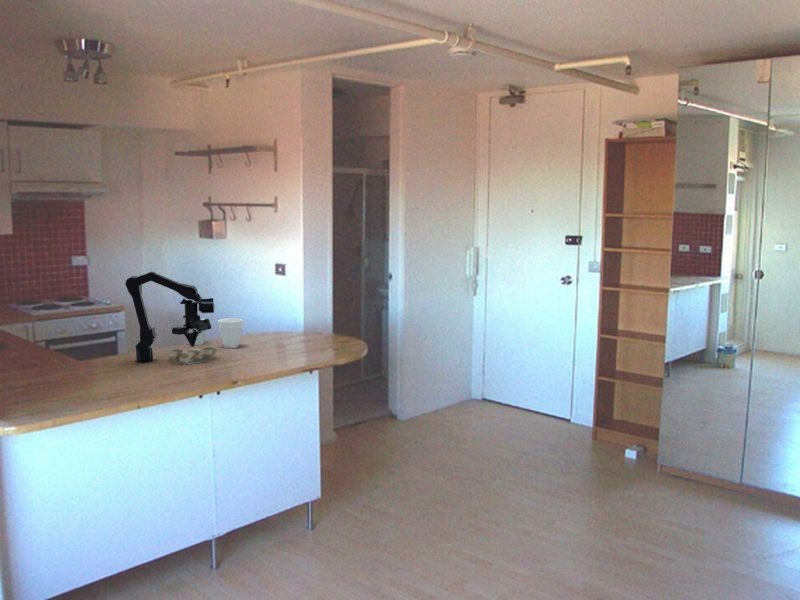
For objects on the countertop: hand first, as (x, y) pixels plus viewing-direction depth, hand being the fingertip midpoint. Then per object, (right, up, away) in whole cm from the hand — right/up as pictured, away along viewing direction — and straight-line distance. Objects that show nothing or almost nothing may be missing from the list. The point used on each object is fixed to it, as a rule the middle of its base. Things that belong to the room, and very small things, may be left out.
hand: (192, 346), depth 337 cm
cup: (+11, -2, +31) cm, 33 cm away
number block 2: (+7, -6, +4) cm, 10 cm away
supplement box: (-8, -1, +39) cm, 40 cm away
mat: (0, -6, +1) cm, 6 cm away
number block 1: (-7, -6, -1) cm, 10 cm away
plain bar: (0, -6, +1) cm, 6 cm away
